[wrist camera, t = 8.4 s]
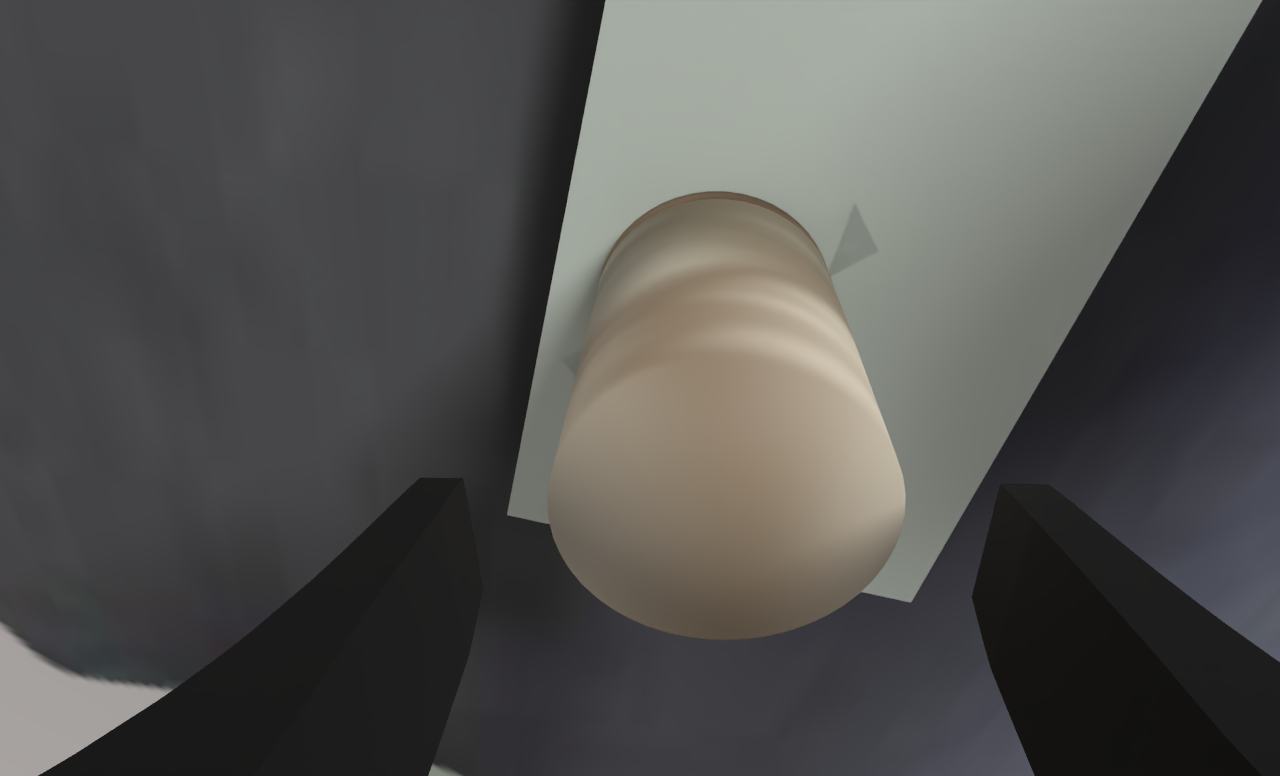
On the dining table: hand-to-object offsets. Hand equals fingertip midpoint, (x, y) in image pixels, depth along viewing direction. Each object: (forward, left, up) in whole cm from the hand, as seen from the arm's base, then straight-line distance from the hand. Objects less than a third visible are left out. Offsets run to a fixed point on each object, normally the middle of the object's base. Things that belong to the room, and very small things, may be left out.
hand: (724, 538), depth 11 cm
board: (-2, -2, -9) cm, 10 cm away
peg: (0, 0, -9) cm, 9 cm away
